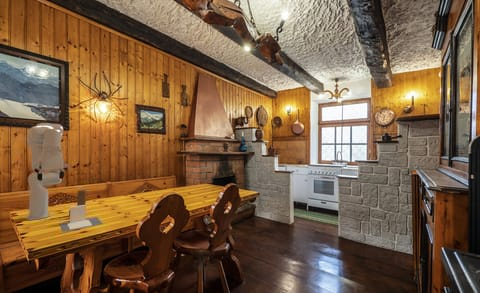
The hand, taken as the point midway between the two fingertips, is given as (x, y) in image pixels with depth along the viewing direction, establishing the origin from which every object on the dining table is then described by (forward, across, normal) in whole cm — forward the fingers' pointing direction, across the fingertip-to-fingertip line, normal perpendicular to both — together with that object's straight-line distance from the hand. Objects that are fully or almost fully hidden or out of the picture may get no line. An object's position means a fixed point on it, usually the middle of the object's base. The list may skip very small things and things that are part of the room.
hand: (51, 179), depth 122 cm
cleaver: (+31, -24, -21) cm, 44 cm away
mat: (+30, -15, +3) cm, 34 cm away
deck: (+30, -16, -4) cm, 34 cm away
